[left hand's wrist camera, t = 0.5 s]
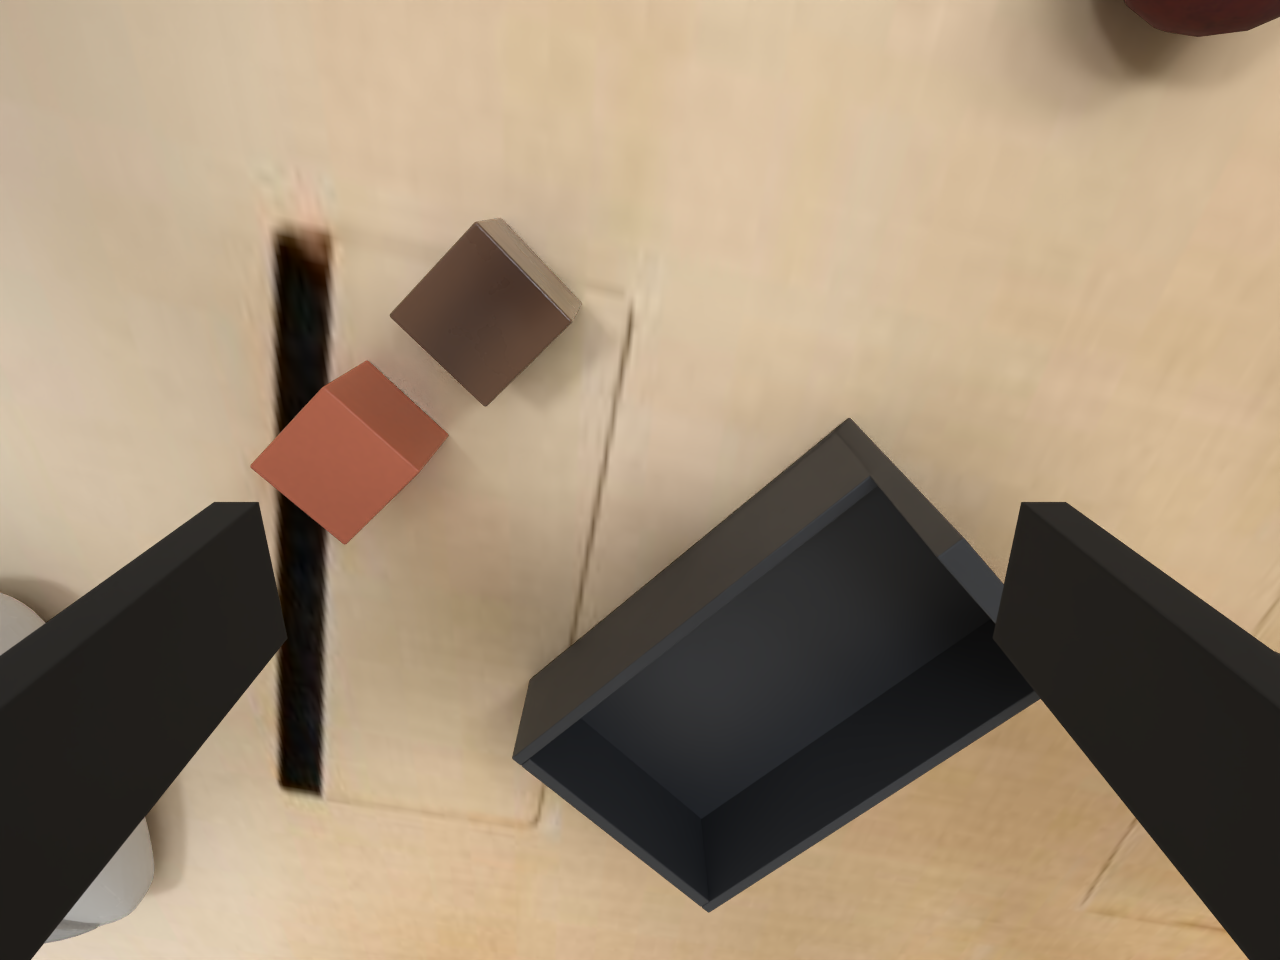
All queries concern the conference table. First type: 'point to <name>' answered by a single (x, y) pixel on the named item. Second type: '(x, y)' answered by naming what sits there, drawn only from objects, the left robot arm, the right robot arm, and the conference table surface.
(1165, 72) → the conference table surface
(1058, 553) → the left robot arm
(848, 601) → the tote
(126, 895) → the projector
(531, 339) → the walnut block
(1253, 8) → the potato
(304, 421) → the terracotta block
